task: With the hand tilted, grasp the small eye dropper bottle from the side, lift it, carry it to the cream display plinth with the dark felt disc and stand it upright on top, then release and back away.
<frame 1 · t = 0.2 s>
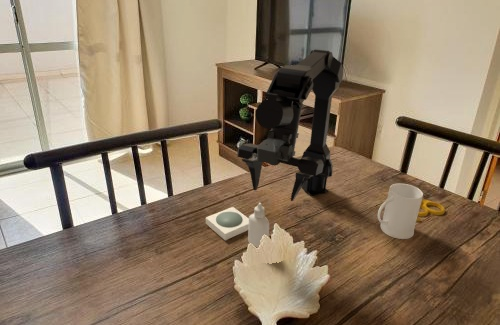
hand: (273, 195, 83), 15 cm above the table, tool tilted 15°, fingers open, 9 cm apart
eye dropper bottle: (257, 245, 92), on the table
plinth: (229, 225, 98), on the table
mug: (391, 231, 99), on the table
yellow scissors: (416, 212, 108), on the table
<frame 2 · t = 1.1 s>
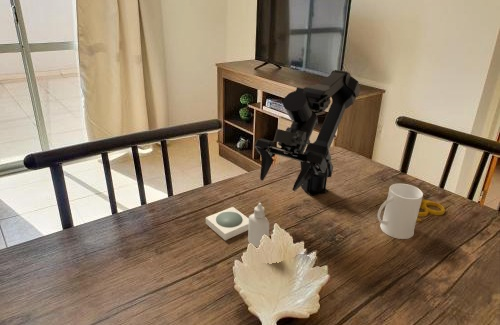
hand: (277, 185, 92), 13 cm above the table, tool tilted 45°, fingers open, 9 cm apart
nothing on the table moved.
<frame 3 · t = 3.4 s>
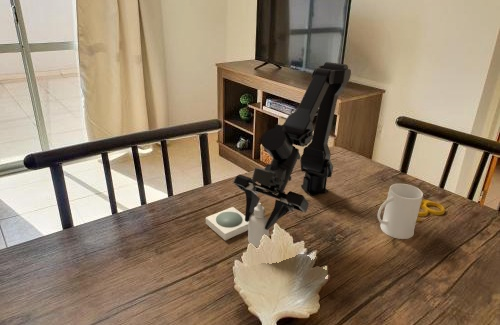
hand: (255, 225, 88), 7 cm above the table, tool tilted 45°, fingers closed on eye dropper bottle, 5 cm apart
eye dropper bottle: (257, 245, 92), on the table, touching gripper
everything else where it was.
when the fingers open (10 cm above the table, at t = 6.5 s): eye dropper bottle stays where it is, resting on plinth.
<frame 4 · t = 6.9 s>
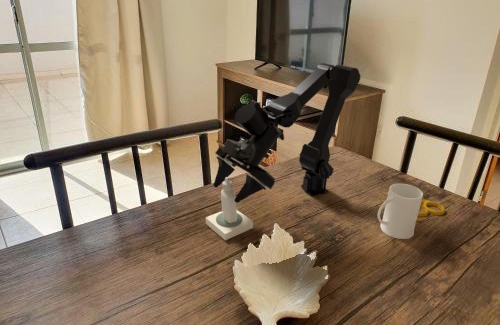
hand: (224, 194, 93), 10 cm above the table, tool tilted 45°, fingers open, 9 cm apart
eye dropper bottle: (229, 218, 98), point 2 cm above the table, touching plinth
everything else where it was.
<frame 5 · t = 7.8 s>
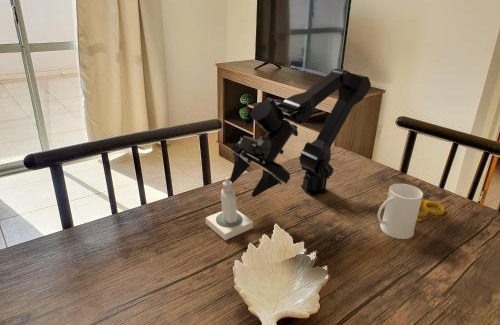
hand: (241, 189, 96), 10 cm above the table, tool tilted 45°, fingers open, 9 cm apart
nothing on the table moved.
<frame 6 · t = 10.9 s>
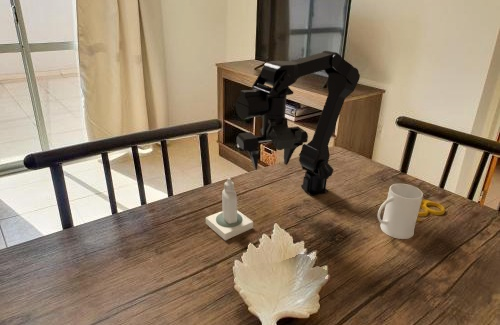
hand: (270, 166, 102), 13 cm above the table, tool pointing down, fingers open, 9 cm apart
nothing on the table moved.
at the end: eye dropper bottle inside the target area on the plinth (0.4 cm from its centre), point 2.0 cm above the plinth's base; eye dropper bottle tilted 0°; the gripper is holding nothing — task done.
